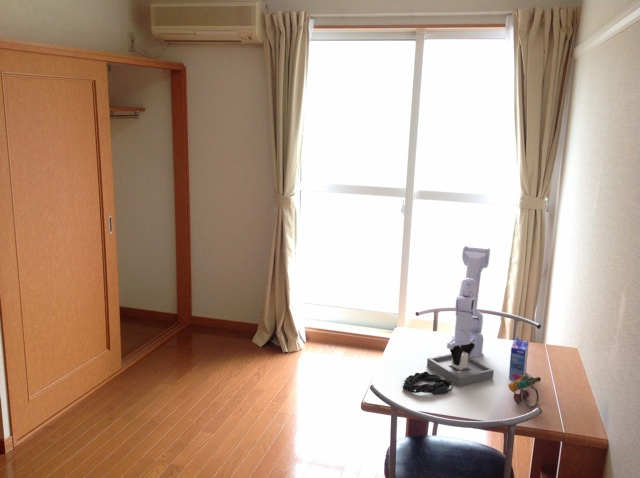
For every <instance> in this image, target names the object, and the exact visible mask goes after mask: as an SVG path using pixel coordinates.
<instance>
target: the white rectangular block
mask: <svg viewBox="0 0 640 478" xmlns="http://www.w3.org/2000/svg"><path fill="white" fill-rule="evenodd" d="M467 363H468V353H466V352H464V351H463V353H462V355H461V359H460V363H459V365H458V366H457V365H455V364H453V358H452V366H453V367H455V368H457V369H456V370H462V369H464V368H466V367H467Z"/></svg>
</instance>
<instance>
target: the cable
mask: <svg viewBox="0 0 640 478" xmlns="http://www.w3.org/2000/svg"><path fill="white" fill-rule="evenodd" d="M420 380H421V381H427V382H435V383H433V384H429V383H424V384H416V383H417V382H418V381H420ZM453 385H454V384H453V383H452V382H451V381H449V380H447V379H445V378H444V377H442V376H440V375H437V374H432V373H430V372H428V371H423V372H420V373H419V372H415V374H414V375H413V374H412V375H408V376H407V377H406V378H405V379H404V380H403V386H402V388H403V389H407V390H408V392H410V393H413V394H419V393H426V394H432V395H434V396H436V395H445V394H448V393H450V392H451V391H452V390H453V388H454V386H453ZM450 387H451V388H450Z"/></svg>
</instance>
